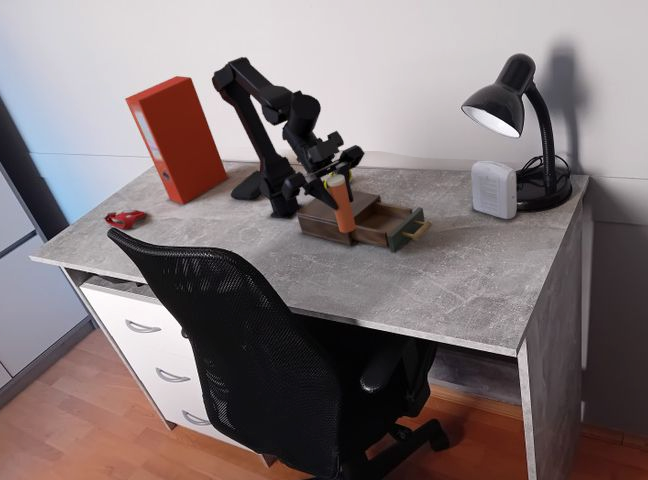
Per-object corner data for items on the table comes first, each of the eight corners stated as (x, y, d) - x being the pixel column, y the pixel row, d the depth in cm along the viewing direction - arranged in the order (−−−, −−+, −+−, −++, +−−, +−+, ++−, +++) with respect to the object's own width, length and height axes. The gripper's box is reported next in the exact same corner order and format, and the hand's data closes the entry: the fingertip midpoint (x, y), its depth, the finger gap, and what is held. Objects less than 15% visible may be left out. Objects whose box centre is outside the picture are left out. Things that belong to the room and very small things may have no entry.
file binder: (228, 178, 172) (190, 77, 153) (184, 204, 163) (138, 100, 144) (213, 174, 177) (175, 76, 158) (170, 199, 168) (124, 98, 149)
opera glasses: (340, 181, 155) (333, 165, 153) (354, 179, 152) (348, 163, 150) (322, 198, 149) (315, 182, 147) (337, 196, 146) (329, 180, 144)
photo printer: (520, 212, 122) (518, 162, 115) (509, 221, 120) (507, 171, 113) (482, 202, 129) (478, 154, 122) (471, 210, 127) (466, 162, 120)
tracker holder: (144, 206, 165) (143, 212, 156) (147, 220, 166) (145, 227, 157) (101, 211, 162) (97, 217, 153) (104, 225, 163) (100, 232, 154)
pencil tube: (335, 230, 118) (322, 181, 111) (347, 221, 120) (335, 173, 113) (347, 234, 115) (335, 184, 109) (359, 226, 117) (347, 176, 110)
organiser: (384, 216, 133) (380, 195, 129) (351, 246, 125) (345, 224, 122) (336, 206, 142) (331, 186, 139) (302, 233, 135) (296, 212, 131)
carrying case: (258, 203, 153) (286, 178, 163) (255, 194, 151) (283, 169, 161) (229, 201, 158) (258, 177, 168) (226, 192, 156) (255, 168, 166)
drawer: (440, 227, 122) (438, 210, 120) (410, 257, 116) (408, 240, 113) (374, 213, 134) (371, 198, 131) (344, 240, 127) (340, 224, 124)
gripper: (271, 142, 104) (315, 209, 102) (350, 107, 111) (392, 169, 109) (265, 169, 114) (304, 230, 113) (337, 135, 121) (375, 193, 119)
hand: (344, 205), depth 113 cm, fingers closed on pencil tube, 3 cm apart
